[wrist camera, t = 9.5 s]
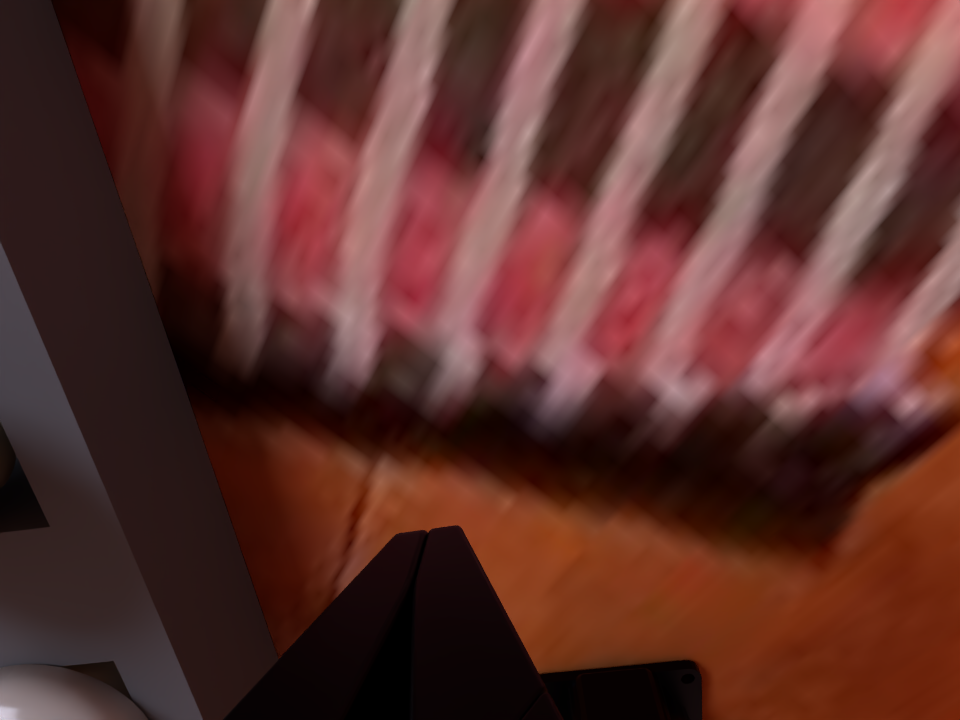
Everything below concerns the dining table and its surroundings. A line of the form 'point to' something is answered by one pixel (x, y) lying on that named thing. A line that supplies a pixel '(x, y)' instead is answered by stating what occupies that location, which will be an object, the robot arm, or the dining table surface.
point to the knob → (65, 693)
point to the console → (101, 424)
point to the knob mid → (5, 457)
